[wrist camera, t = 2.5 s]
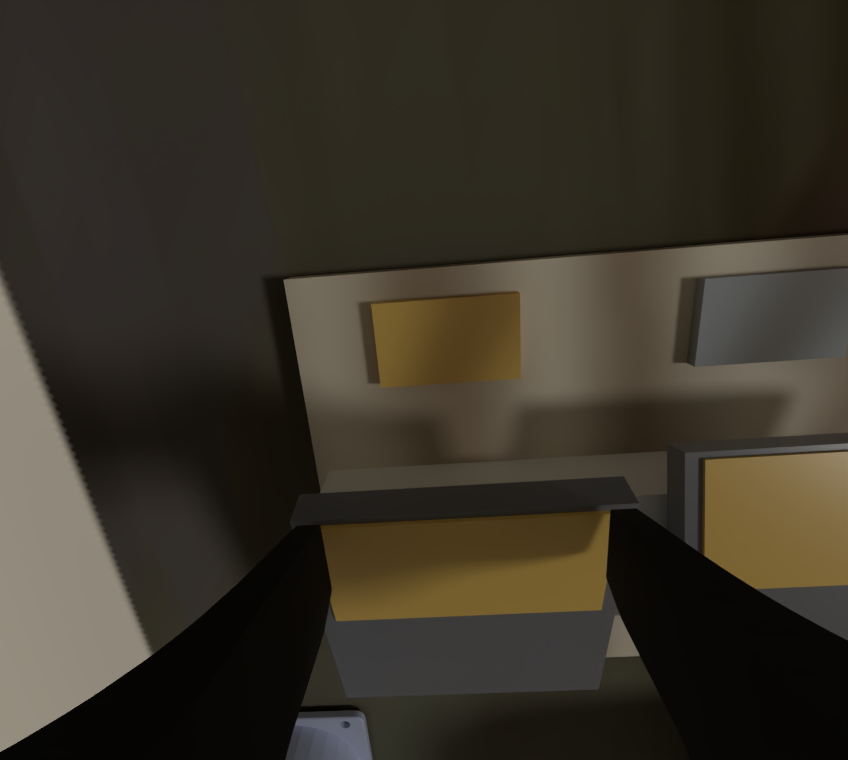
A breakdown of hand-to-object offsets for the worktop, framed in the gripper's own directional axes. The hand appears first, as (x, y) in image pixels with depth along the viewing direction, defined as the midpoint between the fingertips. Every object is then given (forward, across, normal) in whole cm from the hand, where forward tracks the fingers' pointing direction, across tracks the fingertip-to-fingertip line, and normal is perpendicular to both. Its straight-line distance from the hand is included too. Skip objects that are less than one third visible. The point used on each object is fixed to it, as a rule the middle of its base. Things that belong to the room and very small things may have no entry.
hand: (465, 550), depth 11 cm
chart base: (+7, -6, +3) cm, 10 cm away
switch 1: (+2, 0, +4) cm, 4 cm away
